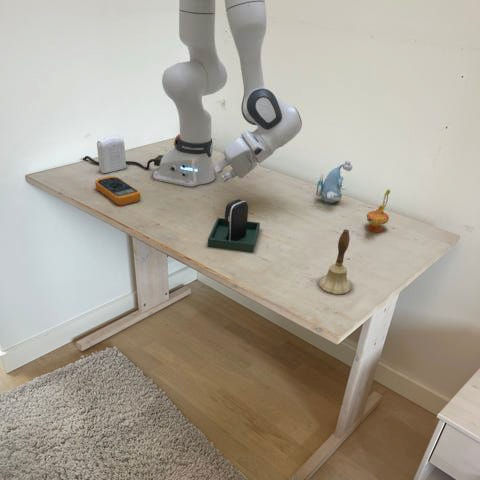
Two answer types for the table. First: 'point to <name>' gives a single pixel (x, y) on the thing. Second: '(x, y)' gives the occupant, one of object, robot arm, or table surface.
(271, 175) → the table surface
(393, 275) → the table surface
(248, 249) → the storage box
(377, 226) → the magic lamp
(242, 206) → the battery charger
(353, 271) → the table surface
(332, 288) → the hand bell
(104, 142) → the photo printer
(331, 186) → the toy figure
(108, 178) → the multimeter
